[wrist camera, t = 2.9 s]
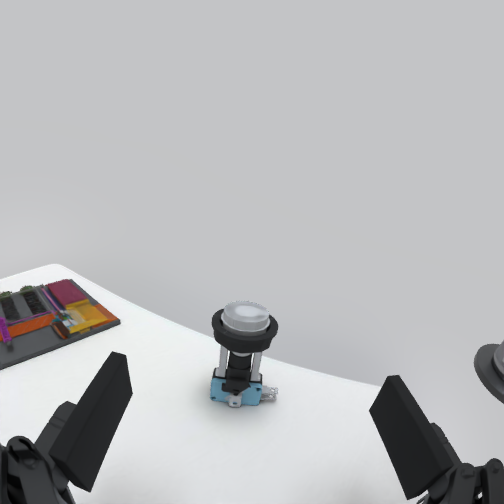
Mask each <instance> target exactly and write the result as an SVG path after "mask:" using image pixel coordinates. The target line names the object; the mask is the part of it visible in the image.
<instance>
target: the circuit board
mask: <svg viewBox="0 0 504 504" xmlns="http://www.w3.org/2000/svg"><path fill="white" fill-rule="evenodd" d="M22 287H23V286H22ZM33 287H34V288H33ZM33 287H32V286H31V285H30V286H26V285H25V287H23V288H21V289H22V290H21V289H20V290H21V291H19V292H16V293H12V291H11V292H10V291H7V292H6V293H5V292H4V291H3V293H1V292H0V293H1V294H0V369H3V368H6V367H9V366H11V365H14V364H17V363H20V362H22V361H25V360H28V359H30V358H33V357H36V356H38V355H41V354H44V353H46V352H49V351H51V350H54V349H57V348H59V347H62V346H65V345H67V344H70V343H72V342H75V341H77V340H80V339H83V338H85V337H88V336H90V335H93V334H95V333H98V332H100V331H103V330H106V329H108V328H111V327H113V326H116V325H118V324H120V320H119V319H118V318H117V317H116V316H114V315H113V314H112V313H111V312H109V311H108V310H107V309H106V308H104V307H103V306H102V305H101V304H99V303H98V302H97V301H96V300H95V299H93V298H92V297H91V296H90V295H89V294H88V293H86V292H85V291H84V290H83V289H82V288H81V287H80V286H79V285H77V284H76V283H75V282H74V281H73V280H72V279H70V280H68V279H65V280H64V279H63V280H61V281H58V282H57V281H56V282H54V283H53V284H52V283H51V284H50V283H49V284H48V285H47V284H46V285H45V286H44V285H43V284H42V285H40V286H36V287H35V286H33ZM10 293H12V294H10ZM1 295H2V296H1Z"/></svg>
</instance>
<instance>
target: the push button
mask: <svg viewBox="0 0 504 504" xmlns="http://www.w3.org/2000/svg"><path fill="white" fill-rule="evenodd" d="M212 327H213V329H214V337H215V340H216V341H217V342H218V343H219V344H221V349H220V361H219V367H218V368H215V369H214V372H213V377H212V381H211V393H210V399H211V400H214V401H222V402H229V406H232V407H240V405H241V404H247V405H258V404H259V401H260V400H265V399H272V400H276V399H277V398H276V394H278V388H274V387H267V386H262V374H261V373H259V367H260V362H261V356H262V351H264V350H266V349H268V348H269V346H270V343H271V340H272V338H273V337H275V335H276V334H277V330H278V324H277V321H276V320H275V319H274V318H273V317H272V316H271V315H269V312H268V310H267V309H266V308H265V307H263V306H261V305H259V304H257V303H253V302H248V301H236V302H232V303H229V304H228V305H226V306H225V308H224V309H221V310H219V311H217V312H216V313H215V314H214V315H213V317H212ZM228 350H229V351H230V356H229V361H228V367H227V369H226V364H227V355H228ZM252 353H254V358H253V364H252V370H251V358H252ZM250 370H251V372H250ZM271 389H274V390H275V391H274V392H273V391H271ZM270 393H275V394H270ZM270 395H272V396H273V398H271V397H269V396H270ZM233 403H237V404H233Z"/></svg>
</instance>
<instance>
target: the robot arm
mask: <svg viewBox="0 0 504 504" xmlns="http://www.w3.org/2000/svg"><path fill="white" fill-rule="evenodd" d="M491 363H492V366H493V369H494V370H495V372H496V374H497V375H498V376H499V377H500V378H501V380H502V381H504V341H503V342H502V344H500V345H499V346H498V347H497V349H496V350H495V352H494V354H493V356H492V359H491ZM132 394H133V392H132V387H131V382H130V376H129V371H128V365H127V358H126V355H124V354H120V353H116V352H113V351H112V352H111V354H110V355H109V357H108V358H107V360H106V361H105V362H104V364H103V365H102V367H101V368H100V370H99V371H98V373H97V374H96V376H95V377H94V379H93V380H92V382H91V383H90V385H89V386H88V388H87V389H86V391H85V393H84V394H83V396H82V397H81V399H80V400H79V402H78V404H77V405H76V404H73V403H71V402H69V401H66V402H65V403H63V404H62V405H60V406H59V407H58V408H57V409H56V411H55V412H54V414H53V417H51V418H50V420H49V423H47V425H46V426H45V428H44V429H43V431H42V432H41V434H40V436H39V437H38V439H37V440H36V442H35V444H33V443H32V442H31V441H30V440H29V439H28V438H26V437H24V436H15V437H13V438H11V439H10V440H9V441H8V443H7V446H6V447H4V446H2V445H1V444H0V504H75V501H74V499H73V497H72V494H71V492H70V490H69V487H68V486H67V484H68V482H69V480H70V481H71V482H72V483H73V485H75V486H77V487H79V488H81V489H83V490H85V491H88V492H91V490H92V487H93V484H94V482H95V479H96V477H97V474H98V472H99V469H100V467H101V465H102V462H103V460H104V457H105V455H106V453H107V450H108V448H109V446H110V443H111V441H112V439H113V436H114V434H115V432H116V429H117V427H118V425H119V423H120V420H121V418H122V416H123V414H124V412H125V409H126V407H127V405H128V403H129V401H130V399H131V396H132ZM369 412H370V414H371V416H372V418H373V421H374V423H375V425H376V427H377V429H378V432H379V434H380V436H381V439H382V441H383V443H384V445H385V448H386V450H387V452H388V455H389V457H390V459H391V462H392V464H393V466H394V469H395V471H396V474H397V476H398V478H399V481H400V483H401V486H402V488H403V491H404V493H405V496H406V498H407V500H409V499H412V498H414V497H417V496H419V495H421V494H422V493H423V492H425V491H426V490H428V492H429V493H428V494H426V495H425V496H424V497H423V498H421V499H420V500H419V501H418V502H417V504H419V503H421V502H422V501H423V500H424V502H423V503H422V504H504V466H503V464H502V462H501V461H500V460H498V459H496V458H493V459H491V460H490V461H488V462H487V464H485V465H484V466H478V467H474V466H473V465H471V464H469V463H462V462H461V461H460V459H459V457H458V456H457V454H456V452H455V451H454V449H453V447H452V446H451V444H450V443H449V442H448V439H447V437H445V434H444V433H443V431H442V429H441V428H440V427H439V426H437V425H436V424H435V423H429V421H428V419H427V418H426V416H425V415H424V413H423V411H422V410H421V408H420V407H419V405H418V404H417V402H416V400H415V399H414V397H413V396H412V394H411V393H410V391H409V390H408V388H407V387H406V385H405V384H404V382H403V381H402V379H401V378H400V376H399V375H395V376H394V375H393V376H388V377H387V378H386V380H385V382H384V384H383V386H382V388H381V390H380V392H379V394H378V396H377V397H376V399H375V401H374V403H373V405H372V406H371V408H370V410H369ZM481 492H482V497H481V498H478V494H480V493H481Z"/></svg>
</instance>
